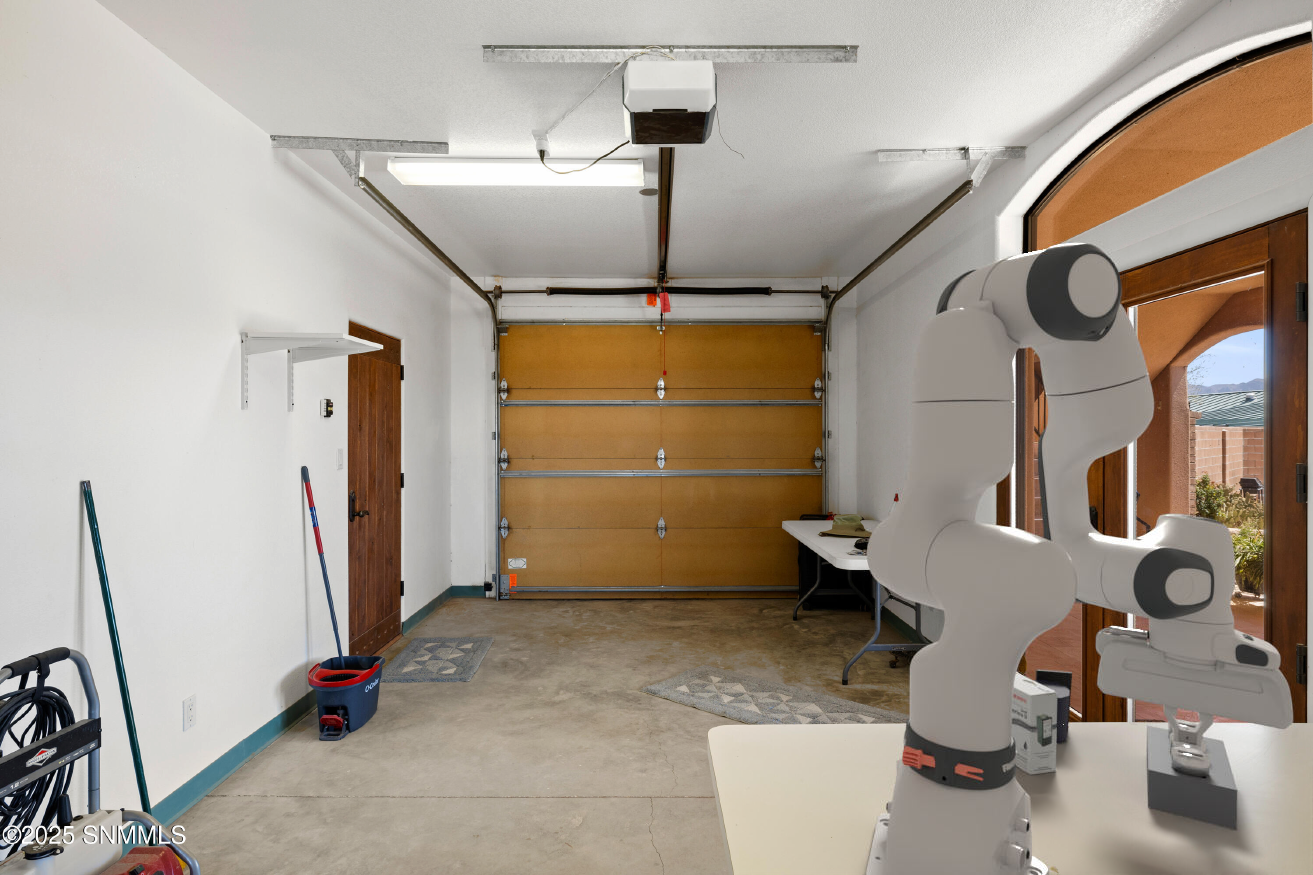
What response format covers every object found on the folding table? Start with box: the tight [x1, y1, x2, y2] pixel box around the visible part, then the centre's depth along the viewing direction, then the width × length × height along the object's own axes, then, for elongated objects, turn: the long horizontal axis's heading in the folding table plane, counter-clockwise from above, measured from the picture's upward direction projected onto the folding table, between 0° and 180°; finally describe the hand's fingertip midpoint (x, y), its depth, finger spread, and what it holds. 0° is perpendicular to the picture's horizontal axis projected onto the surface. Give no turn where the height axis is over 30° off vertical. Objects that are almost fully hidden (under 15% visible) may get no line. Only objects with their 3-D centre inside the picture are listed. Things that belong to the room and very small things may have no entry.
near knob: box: [1171, 747, 1210, 778], centre depth 90 cm, size 4×4×5 cm
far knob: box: [1167, 718, 1204, 739], centre depth 99 cm, size 4×4×5 cm
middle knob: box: [1170, 733, 1206, 772], centre depth 95 cm, size 4×4×5 cm
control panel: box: [1146, 725, 1238, 831], centre depth 95 cm, size 17×9×5 cm, turn 145°
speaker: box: [1034, 669, 1073, 745], centre depth 112 cm, size 8×6×10 cm
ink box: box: [1012, 672, 1057, 775], centre depth 104 cm, size 9×5×12 cm, turn 14°
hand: (1186, 742), depth 90 cm, fingers closed
